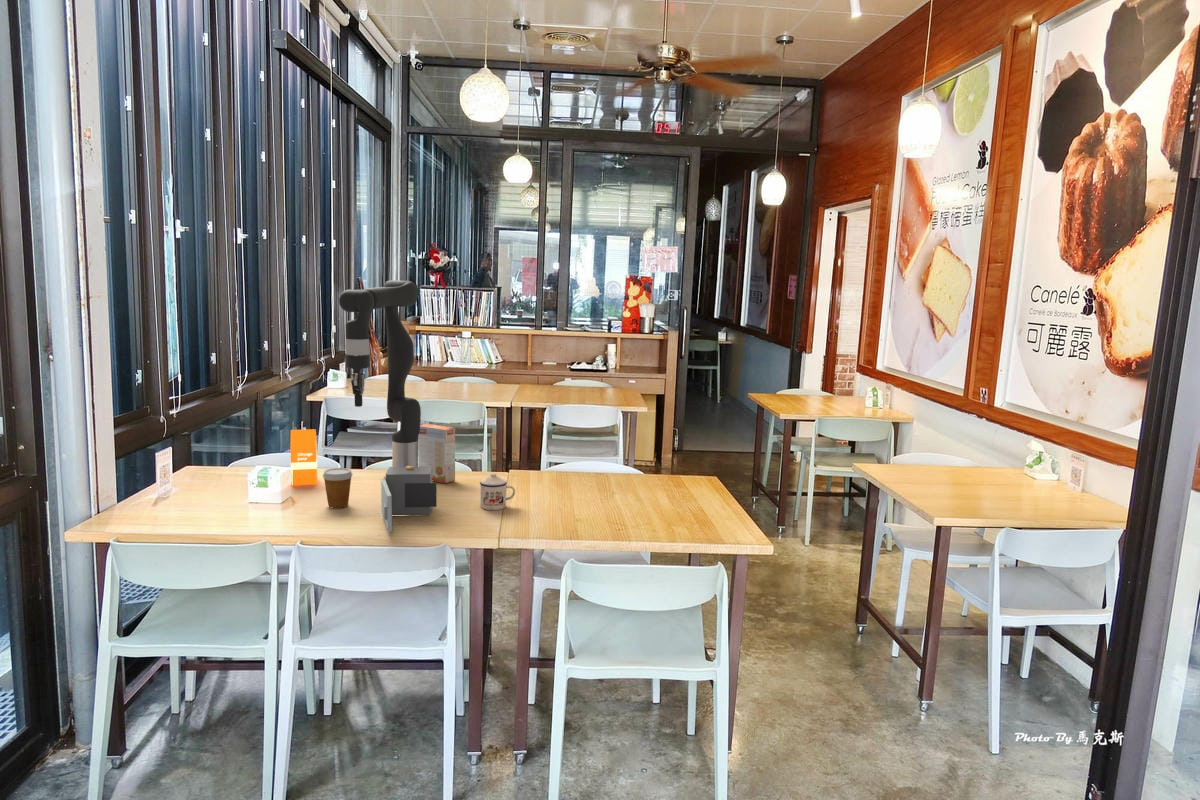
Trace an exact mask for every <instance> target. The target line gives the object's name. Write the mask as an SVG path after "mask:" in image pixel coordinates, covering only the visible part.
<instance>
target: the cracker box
mask: <svg viewBox="0 0 1200 800" xmlns="http://www.w3.org/2000/svg"><path fill="white" fill-rule="evenodd" d="M418 467H432V482H434V483H440V484H447V483H452V482H454V481H456V428H455V427H451V426H446V425H445V426H444V425H438V424H431V423H426V424H420V432H419V435H418Z"/></svg>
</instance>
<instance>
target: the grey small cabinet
mask: <svg viewBox="0 0 1200 800" xmlns="http://www.w3.org/2000/svg"><path fill="white" fill-rule="evenodd" d="M383 479H385V480H386V483H387V485H388V488H389V491H390V493H391V500H392V515H427V516H426V517H429V516H428V515H430V514H432V509H433V508H437V507H438V506H437V497H438V496H437V495H438V494H437V492H438V491H437V483H438V482H433V481H432V467H419V466H418V467H413V466H406V467H392V466H389V467H388V468H387V471H386V473H385V476H383ZM430 516H431V515H430Z"/></svg>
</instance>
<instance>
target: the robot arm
mask: <svg viewBox="0 0 1200 800" xmlns="http://www.w3.org/2000/svg"><path fill="white" fill-rule="evenodd" d="M418 291H419V290H418V287H417V285H416V283H414V282H412V281H410V280H394V279H393V280H392V279H391V280H387V281H386V282H385V283H384V285H383V286H376V287H369V288H368V287H367V288H365V289H364V288H363V289H346V290H344V291H343V292H341V293H340V295H339V298H338V304H339V306H340V308H341V309H342V310H343V311H344V312H347V313H358V316H357V317H356V319H355V318H354V319H351V320H348V321H346V323H345V345H344V346H345V347H344V350H345V351H344V353H345V358H344V359H345V368H346V369H352V373H350V379H351V380H350V383H351V390H352V395H354V406H355V407H357V408H361V407H362V406H363V394H364V391H365V380H366V379H365V378H366V372H364V369H370V368H371V347H370V334H369V333H370V332H369V328H370V327H369V326H370V321H371V318H372V313H373V310H377V309H381V308H382V309H383V308H384V313H385V321H386V341H387V342H386V344H387V345H386V348H387V349H386V350H387V351H386V353H387V370H388V371H387V375H388V377H387V378H388V382H387V384H388V385H387V400H386V409H387V410H386V412H387V415H388V417H389V419H390V420H392V421H394V422H398V423H399V422H400V429H399V430H398V431H394V432H393V433H392V435H391V443H392V444H391V445H392V446H391V449H392V450H391V451H392V454H391V455H392V464H391V465H392V466H391V467H406V466H413V467H419V448H418V435H419V432H420V425H421V421H422V420H421V417H422V416H421V415H422V414H421V413H422V410H421V409H422V408H421V405H420V402H419V401H418V399H416V398H413V397H406V393H405V385H406V380H407V378H408V375H409V373H410V371H411V369H412V368H413V365H414V362H415V361H414V359H415V358H414V357H415V356H414V355H415V353H414V350H415V349H414V342H413V340H412V337H411V336H410V334H409V332H408V331H407V330H406V327H405V326H404V325H403V322H402V320H401V318H400V313H399V307H400V308H401V307H403V308H406V307H407V308H408V307H413V306H414V305H415V304H416V303H417V301H418V298H419V292H418Z"/></svg>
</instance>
